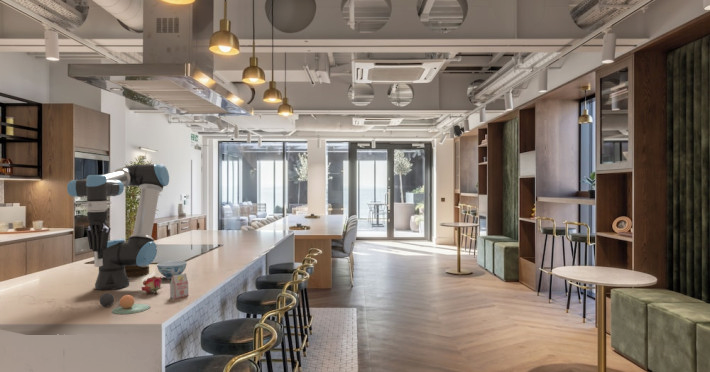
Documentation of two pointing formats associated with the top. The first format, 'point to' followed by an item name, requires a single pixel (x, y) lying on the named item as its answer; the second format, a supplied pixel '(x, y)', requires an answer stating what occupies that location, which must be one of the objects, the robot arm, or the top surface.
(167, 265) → the chinaware
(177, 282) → the white paper snack bag
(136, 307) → the green plate
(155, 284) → the flower
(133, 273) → the wooden container
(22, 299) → the top surface
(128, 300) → the object ball
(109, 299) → the dark grey ball
